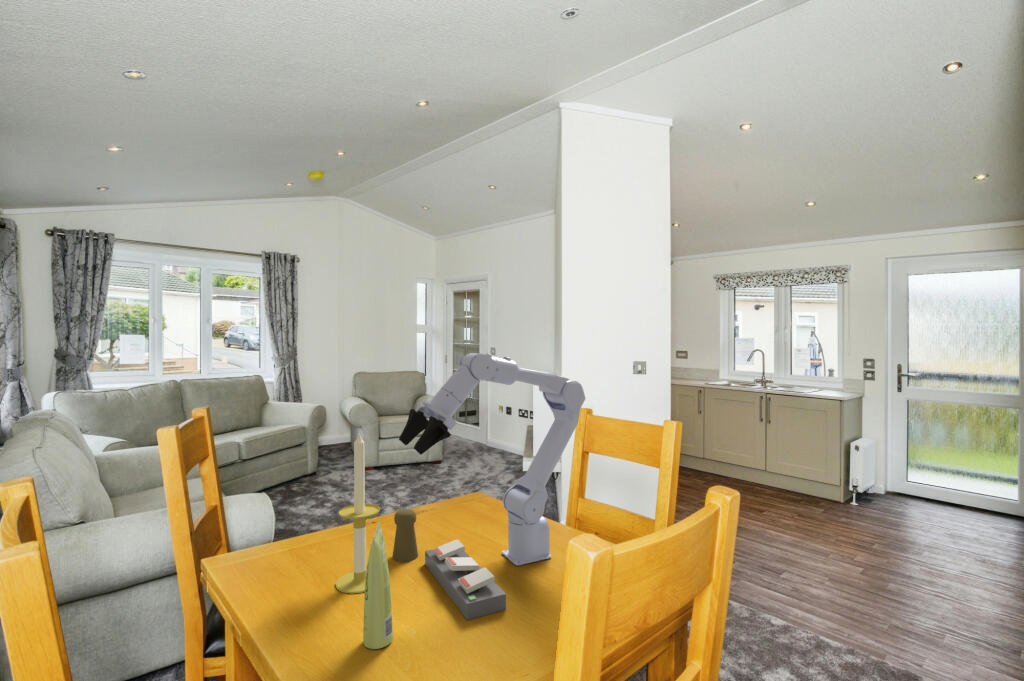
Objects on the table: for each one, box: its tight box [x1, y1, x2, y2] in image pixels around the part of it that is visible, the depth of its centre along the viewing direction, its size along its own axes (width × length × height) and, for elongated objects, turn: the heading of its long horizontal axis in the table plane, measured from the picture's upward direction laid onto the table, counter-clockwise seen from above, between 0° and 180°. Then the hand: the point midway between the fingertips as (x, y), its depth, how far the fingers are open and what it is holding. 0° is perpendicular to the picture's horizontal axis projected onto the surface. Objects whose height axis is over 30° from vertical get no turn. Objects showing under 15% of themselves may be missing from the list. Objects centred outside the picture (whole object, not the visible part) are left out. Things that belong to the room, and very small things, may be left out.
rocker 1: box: [432, 538, 466, 561], centre depth 114 cm, size 6×4×1 cm
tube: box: [362, 521, 394, 650], centre depth 87 cm, size 6×5×20 cm
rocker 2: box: [445, 556, 480, 571], centre depth 107 cm, size 6×4×1 cm
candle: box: [334, 431, 381, 595], centre depth 108 cm, size 10×10×32 cm
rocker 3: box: [458, 567, 496, 594], centre depth 100 cm, size 6×4×1 cm
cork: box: [392, 508, 419, 563], centre depth 121 cm, size 6×6×11 cm
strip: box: [424, 548, 507, 621], centre depth 107 cm, size 8×26×4 cm, turn 27°
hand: (409, 446), depth 106 cm, fingers open, 7 cm apart
